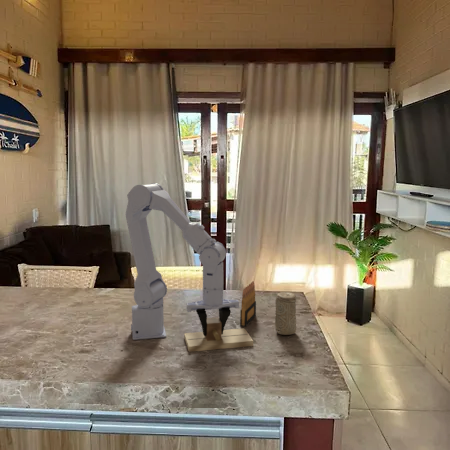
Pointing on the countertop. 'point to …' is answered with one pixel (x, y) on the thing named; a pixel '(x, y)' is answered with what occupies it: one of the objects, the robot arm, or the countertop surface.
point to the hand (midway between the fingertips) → (212, 333)
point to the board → (228, 340)
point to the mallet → (213, 329)
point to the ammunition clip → (248, 305)
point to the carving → (285, 313)
